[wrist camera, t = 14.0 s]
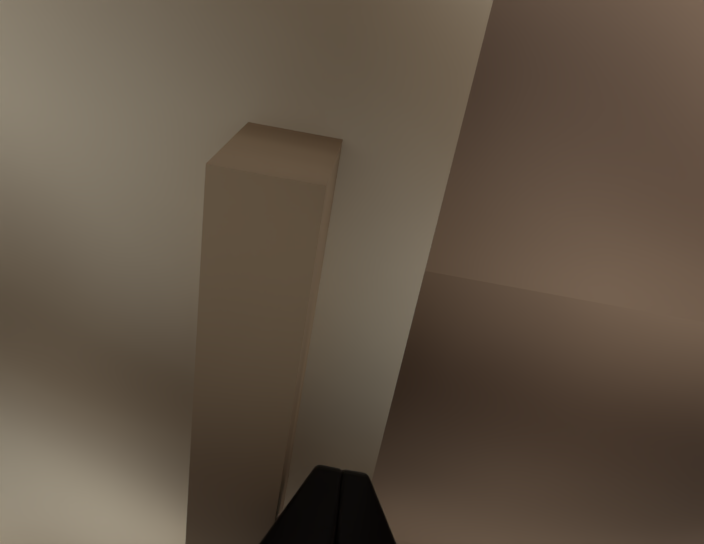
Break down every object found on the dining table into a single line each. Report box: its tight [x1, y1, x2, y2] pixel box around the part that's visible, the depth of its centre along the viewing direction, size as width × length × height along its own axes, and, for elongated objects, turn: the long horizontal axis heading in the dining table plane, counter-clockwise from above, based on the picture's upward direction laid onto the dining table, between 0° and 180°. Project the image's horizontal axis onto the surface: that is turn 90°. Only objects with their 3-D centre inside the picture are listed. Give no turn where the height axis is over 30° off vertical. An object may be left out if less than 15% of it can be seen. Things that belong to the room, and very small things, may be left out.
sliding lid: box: [0, 0, 493, 544], centre depth 9 cm, size 14×9×3 cm, turn 171°
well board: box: [372, 0, 704, 544], centre depth 11 cm, size 16×19×2 cm
